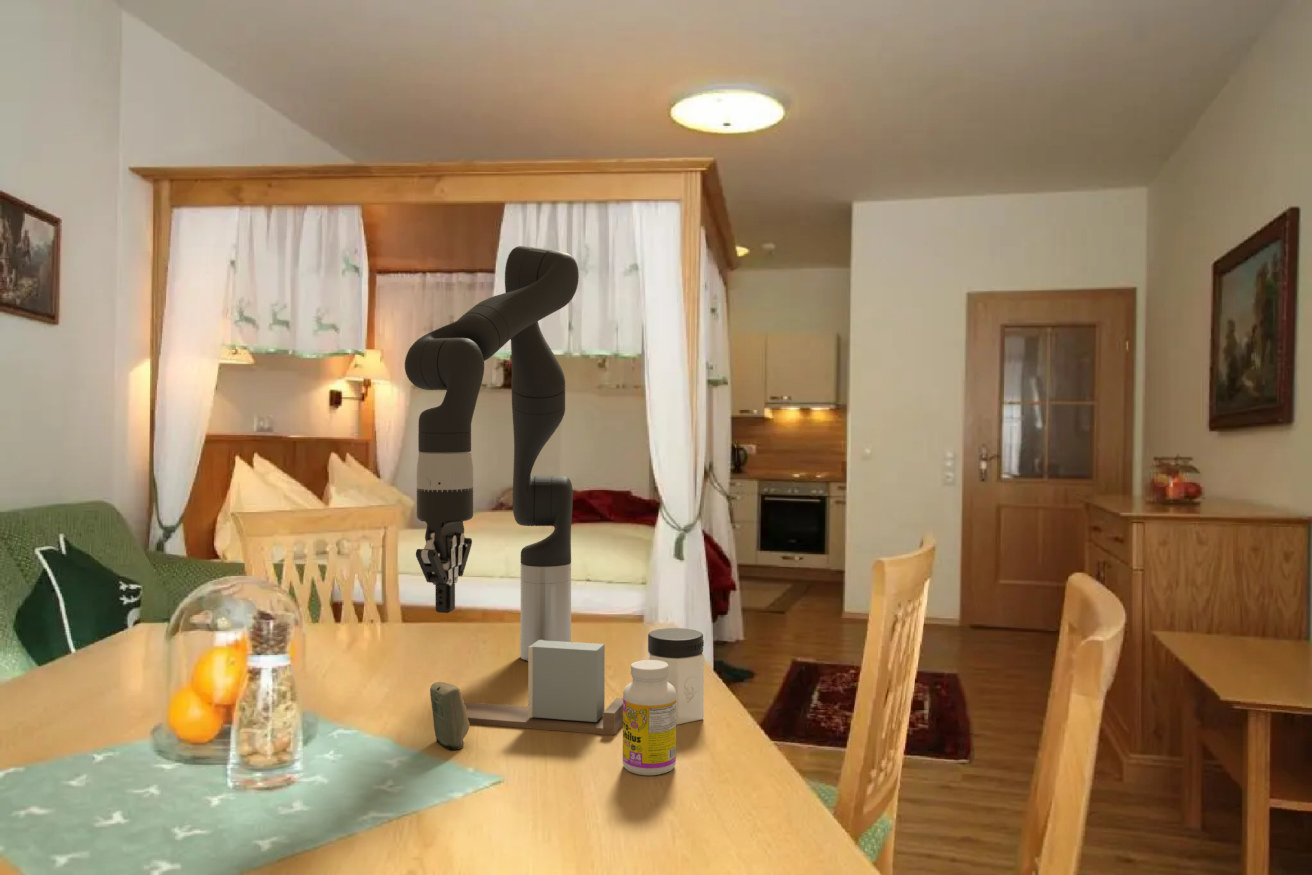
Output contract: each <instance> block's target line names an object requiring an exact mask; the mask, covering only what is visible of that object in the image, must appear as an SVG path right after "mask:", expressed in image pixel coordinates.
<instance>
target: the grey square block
mask: <svg viewBox="0 0 1312 875" xmlns="http://www.w3.org/2000/svg"><path fill="white" fill-rule="evenodd" d="M605 646H606V645H605V643H595V642H594V643H592V642H576V641H575V642H574V641H571V642H561V641H544V640H538V641H537V642H535V643H534V644H532V645H531V646H529V647H528V661H527V662H528V664H527V665H528V673H527V674H528V678H527V679H528V680H527V681H528V682H527V683H528V684H527V685H528V688H527V690H528V696H527V697H528V700H527V703H528V717H531V718H532V717H537V718H550V719H563V720H576V721H589V722H597V721H598V720H599V719H600V718H601V717H602V716H603V712H604V711H605V699H606V698H605V697H606V696H605V693H606V692H605V686H606V685H605V683H606V682H605V681H606V680H605V679H606V678H605V675H606V674H605V670H606V669H605V663H606V662H605V660H606V658H605V655H606V654H605V652H606V651H605V649H606V648H605Z"/></svg>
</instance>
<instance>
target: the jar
mask: <svg viewBox="0 0 1312 875" xmlns="http://www.w3.org/2000/svg"><path fill="white" fill-rule="evenodd" d="M704 644H705V642H704V634H703V633H702V632H701V631H700V630H696V629H690V628H683V627H681V628H680V627H678V628H677V627H668V628H667V627H666V628H660V629H654V630H651V631H650V632H649V633H648V634H647V660H658V661H663V662H666V663H667V664H668V667H669V674H668V677H667V682H668V683H670V684H671V685H672V686H673V687H674V688H675V690H676V726H678V725H682V724H683V725H684V724H688V723H692V722H697V721H701V720H704V713H705V712H704V711H705V710H704V706H705V705H704V703H705V702H704V700H705V699H704V695H705V694H704V693H705V692H704V691H705V690H704V685H705V684H704V681H705V679H704V678H705V676H704V675H705V672H704V671H705V669H704V668H705V664H704V662H705V657H704V653H703V652H704Z"/></svg>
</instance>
